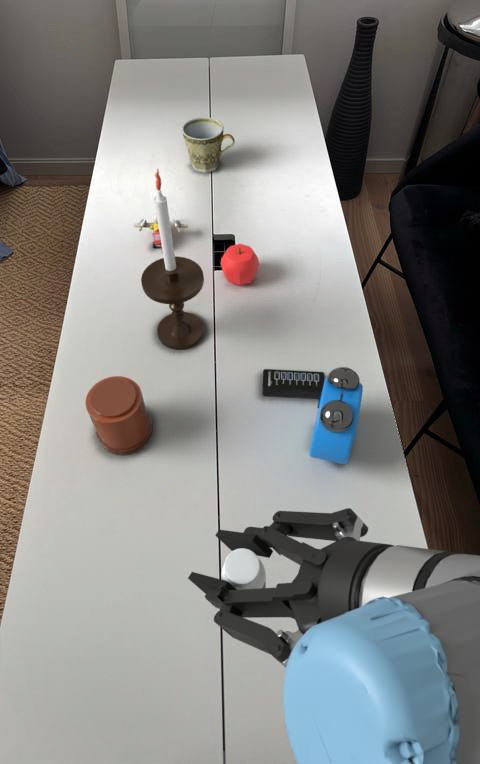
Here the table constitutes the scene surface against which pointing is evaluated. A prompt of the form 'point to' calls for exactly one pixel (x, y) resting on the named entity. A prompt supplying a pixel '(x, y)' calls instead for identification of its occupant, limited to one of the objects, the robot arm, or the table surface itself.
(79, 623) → the table surface
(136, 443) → the brown cylindrical container
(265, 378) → the multiport hub
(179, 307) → the candlestick
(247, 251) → the apple
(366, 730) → the robot arm
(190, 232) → the table surface
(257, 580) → the pill bottle
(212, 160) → the ceramic cup
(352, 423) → the alarm clock
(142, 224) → the toy airplane
